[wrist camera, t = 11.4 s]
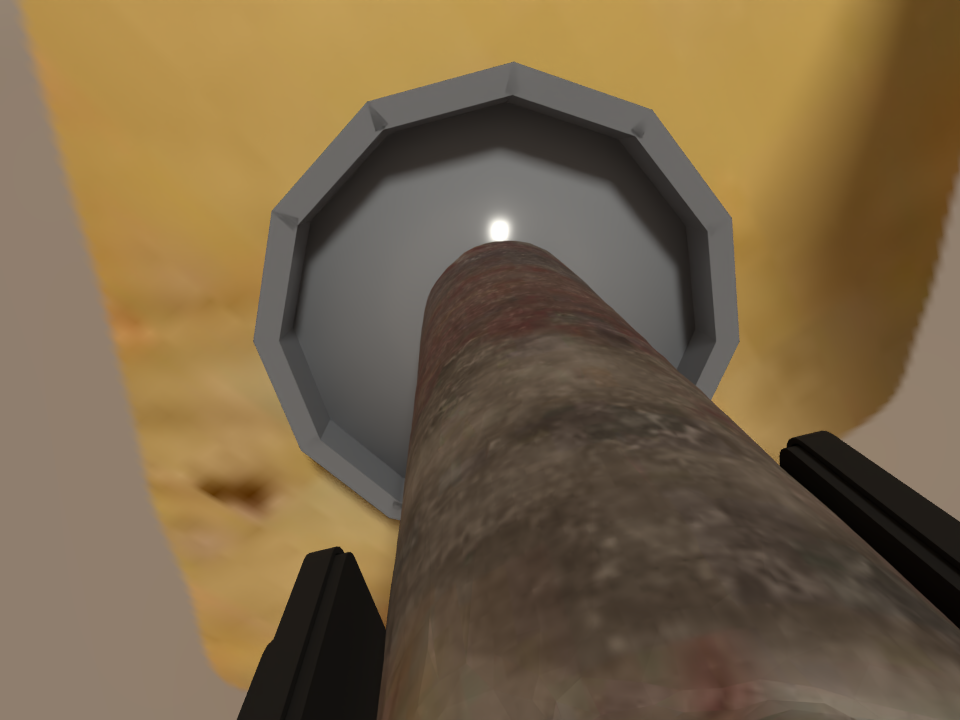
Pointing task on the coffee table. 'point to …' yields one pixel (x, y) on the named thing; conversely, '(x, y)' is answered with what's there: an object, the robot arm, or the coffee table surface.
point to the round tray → (469, 223)
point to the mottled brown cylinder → (622, 537)
